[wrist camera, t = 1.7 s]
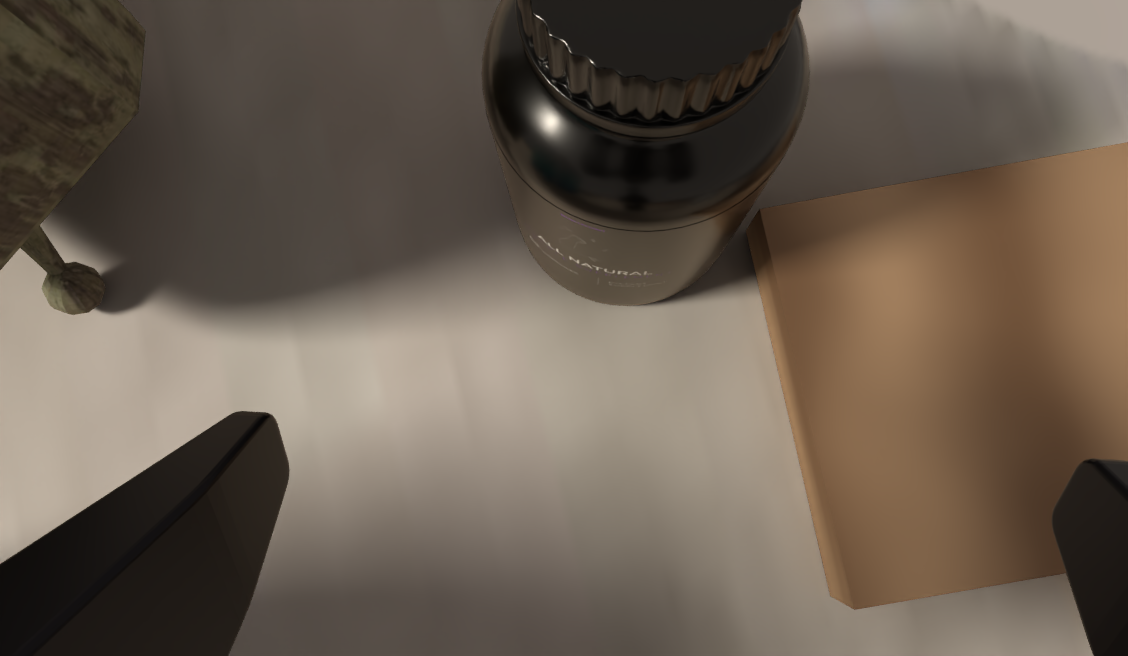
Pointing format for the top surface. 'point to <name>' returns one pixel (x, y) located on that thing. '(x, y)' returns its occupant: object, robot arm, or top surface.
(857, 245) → the tan slab
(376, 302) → the top surface
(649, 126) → the supplement bottle
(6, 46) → the tabletop clock
